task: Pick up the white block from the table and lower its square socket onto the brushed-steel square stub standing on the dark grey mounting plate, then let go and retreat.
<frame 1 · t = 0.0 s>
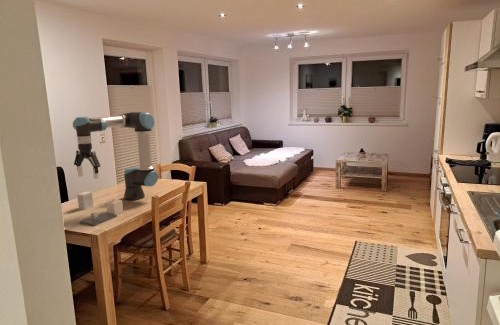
hand: (88, 177, 215), 28 cm above the table, fingers open, 13 cm apart
white block: (115, 212, 236), on the table
shaft plate: (99, 219, 223), on the table
small box: (86, 207, 248), on the table
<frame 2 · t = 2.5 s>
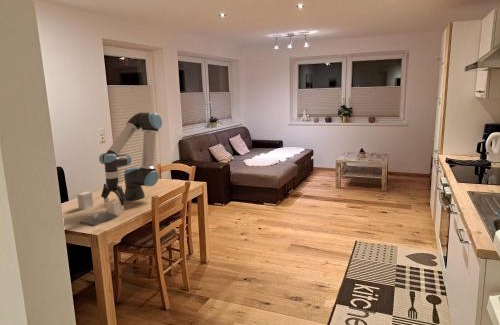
hand: (114, 208, 235), 3 cm above the table, fingers open, 13 cm apart
nothing on the table moved.
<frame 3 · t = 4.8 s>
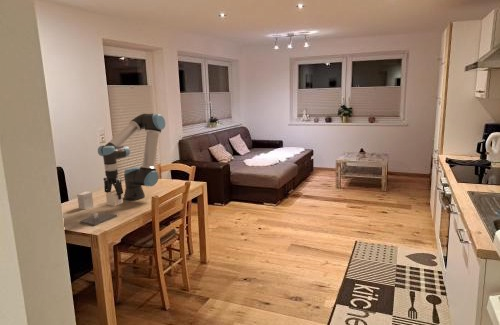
hand: (115, 203, 235), 6 cm above the table, fingers closed on white block, 7 cm apart
white block: (115, 203, 235), point 6 cm above the table, touching gripper
everything else where it was.
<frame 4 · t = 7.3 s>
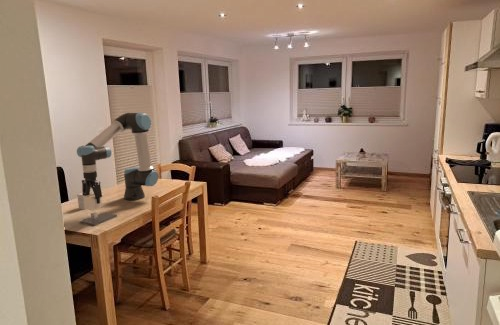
hand: (93, 207, 218), 9 cm above the table, fingers closed on white block, 7 cm apart
white block: (93, 208, 218), point 9 cm above the table, touching gripper
everything else where it was.
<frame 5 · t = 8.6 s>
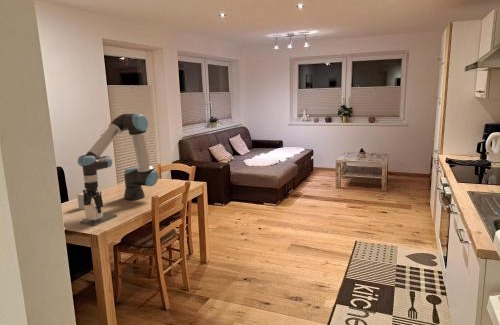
hand: (94, 217, 220), 3 cm above the table, fingers closed on white block, 7 cm apart
white block: (94, 217, 219), point 3 cm above the table, touching gripper
everything else where it was.
when the fingers open (2 cm above the table, at t = 9.8 s): white block stays where it is, resting on shaft plate.
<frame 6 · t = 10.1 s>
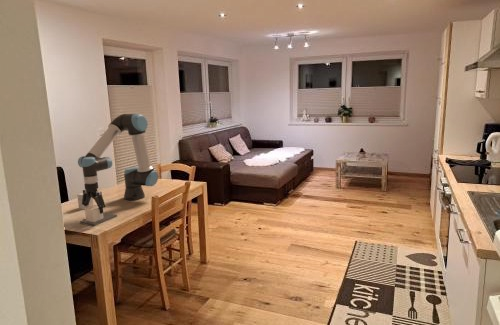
hand: (94, 216, 220), 3 cm above the table, fingers open, 10 cm apart
white block: (94, 219, 220), point 1 cm above the table, touching shaft plate
everything else where it was.
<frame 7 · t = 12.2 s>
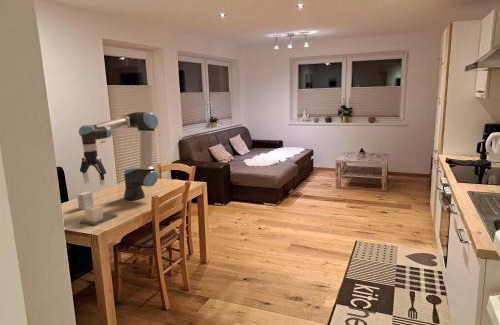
hand: (94, 183, 221), 23 cm above the table, fingers open, 13 cm apart
nothing on the table moved.
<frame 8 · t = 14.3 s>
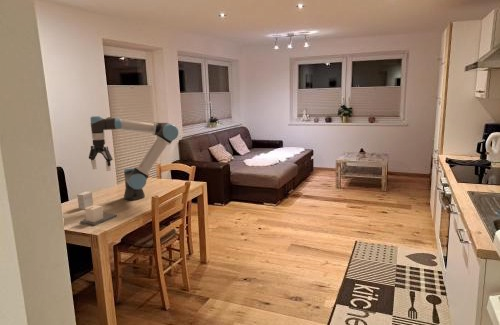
hand: (101, 169, 243), 27 cm above the table, fingers open, 13 cm apart
nothing on the table moved.
at the end: white block 0.1 cm from the target spot on the shaft plate, point 1.2 cm above the shaft plate's base; white block tilted 0°; the gripper is holding nothing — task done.
